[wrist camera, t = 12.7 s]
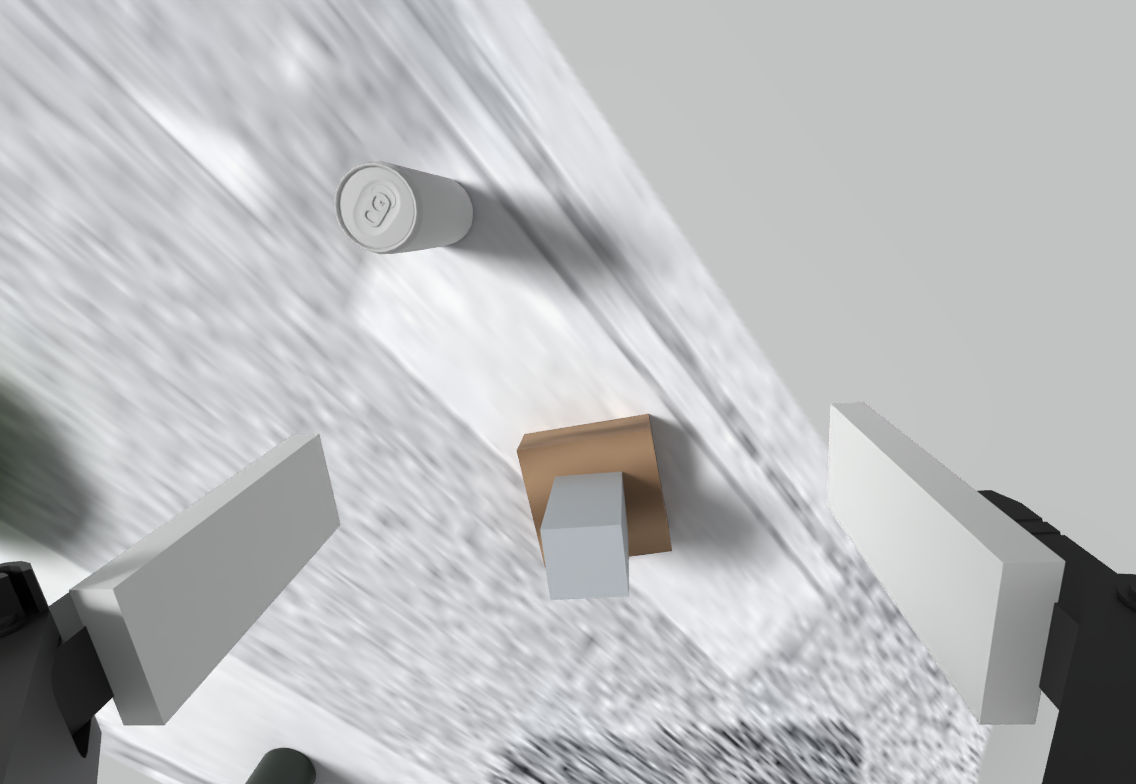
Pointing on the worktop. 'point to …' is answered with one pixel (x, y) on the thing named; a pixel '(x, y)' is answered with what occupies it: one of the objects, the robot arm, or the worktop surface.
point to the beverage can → (401, 208)
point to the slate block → (586, 537)
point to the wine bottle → (283, 768)
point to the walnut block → (601, 452)
